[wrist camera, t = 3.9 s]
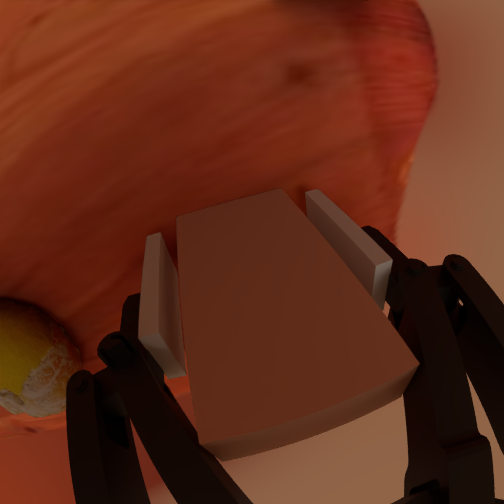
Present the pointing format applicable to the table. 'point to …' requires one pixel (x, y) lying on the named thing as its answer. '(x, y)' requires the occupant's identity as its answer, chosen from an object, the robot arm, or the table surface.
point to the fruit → (34, 360)
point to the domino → (278, 329)
